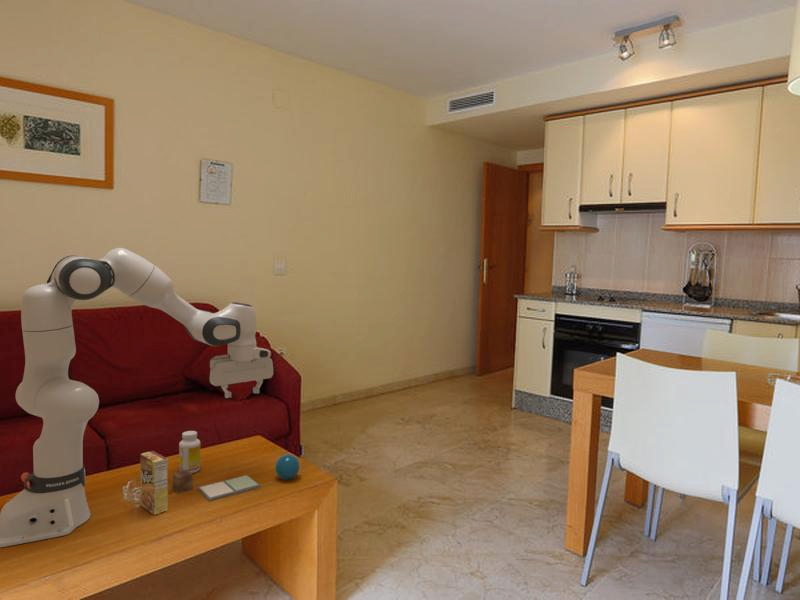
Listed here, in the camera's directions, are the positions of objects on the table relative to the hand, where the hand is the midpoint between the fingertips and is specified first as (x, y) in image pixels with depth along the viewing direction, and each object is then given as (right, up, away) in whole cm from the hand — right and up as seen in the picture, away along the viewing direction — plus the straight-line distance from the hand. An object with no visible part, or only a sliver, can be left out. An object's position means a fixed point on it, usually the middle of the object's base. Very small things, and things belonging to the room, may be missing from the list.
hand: (242, 395), depth 172 cm
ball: (+14, -28, +3) cm, 31 cm away
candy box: (-19, -29, -20) cm, 40 cm away
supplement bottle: (-20, -27, +7) cm, 34 cm away
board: (-2, -28, -6) cm, 29 cm away
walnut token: (-16, -28, -7) cm, 33 cm away
